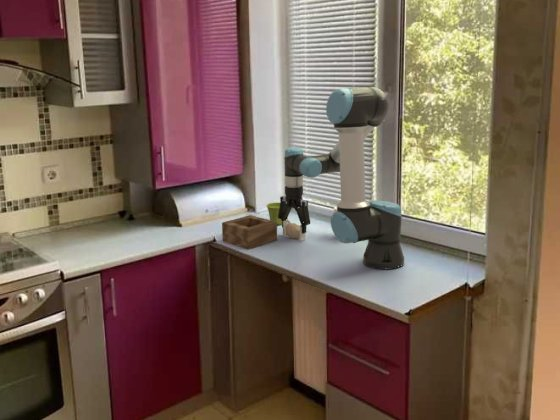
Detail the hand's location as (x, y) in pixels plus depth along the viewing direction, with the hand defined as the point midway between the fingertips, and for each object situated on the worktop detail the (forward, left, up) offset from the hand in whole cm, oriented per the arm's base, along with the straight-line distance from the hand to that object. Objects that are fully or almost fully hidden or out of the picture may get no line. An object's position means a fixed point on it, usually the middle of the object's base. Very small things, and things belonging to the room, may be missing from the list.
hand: (293, 237), depth 270 cm
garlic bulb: (0, 0, 0) cm, 0 cm away
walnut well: (+11, +15, 0) cm, 19 cm away
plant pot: (+21, -11, 0) cm, 24 cm away
